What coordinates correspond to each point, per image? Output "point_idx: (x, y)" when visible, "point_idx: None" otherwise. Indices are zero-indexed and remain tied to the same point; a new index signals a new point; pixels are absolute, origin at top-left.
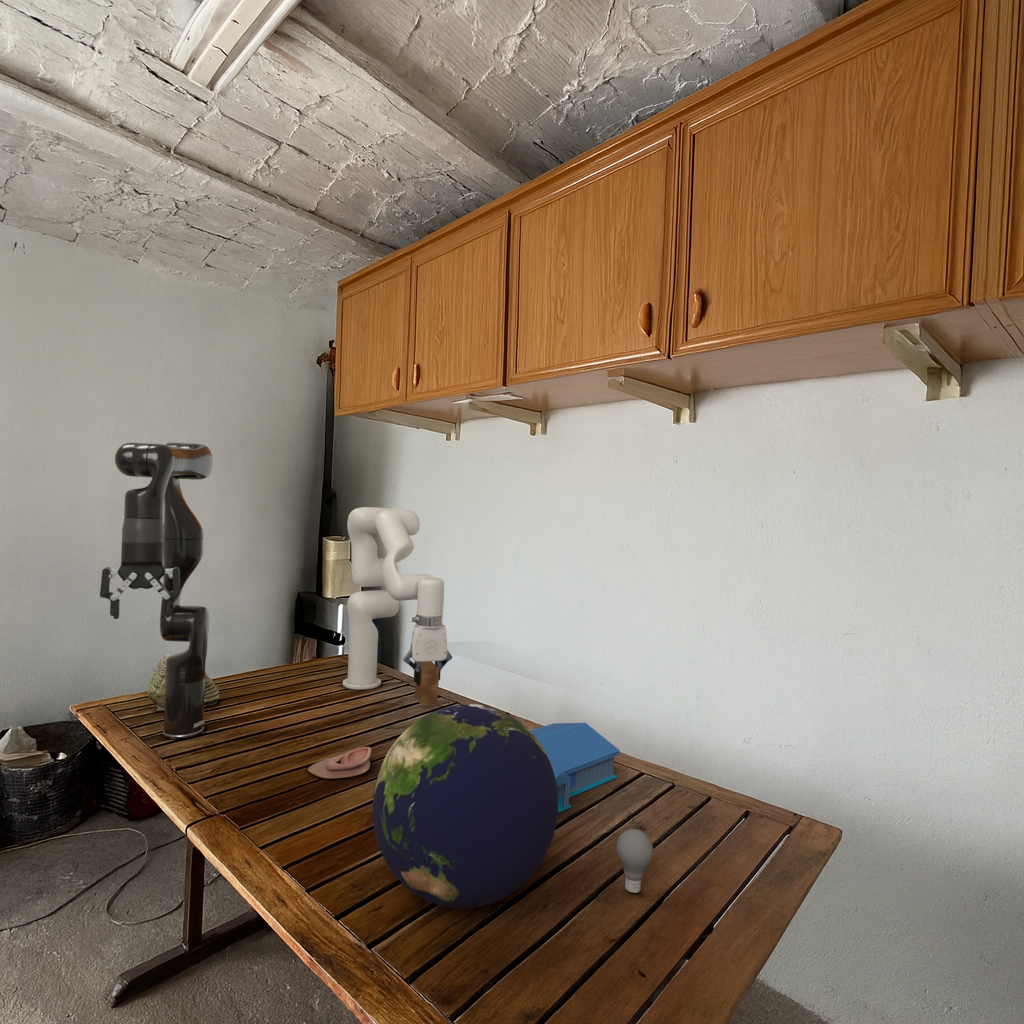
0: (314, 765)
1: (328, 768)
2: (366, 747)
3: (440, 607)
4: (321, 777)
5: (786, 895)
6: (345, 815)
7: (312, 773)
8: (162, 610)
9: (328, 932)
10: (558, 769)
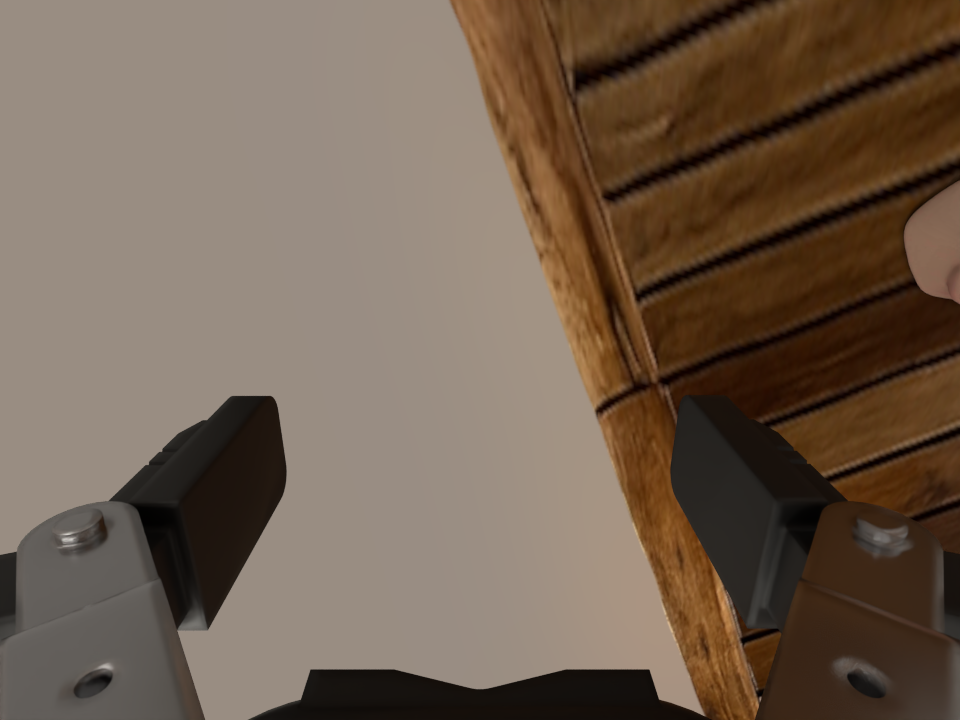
0: (930, 230)
1: (951, 295)
2: None
3: None
4: (917, 283)
5: None
6: (884, 467)
7: (907, 254)
8: (703, 530)
9: (740, 710)
10: None
